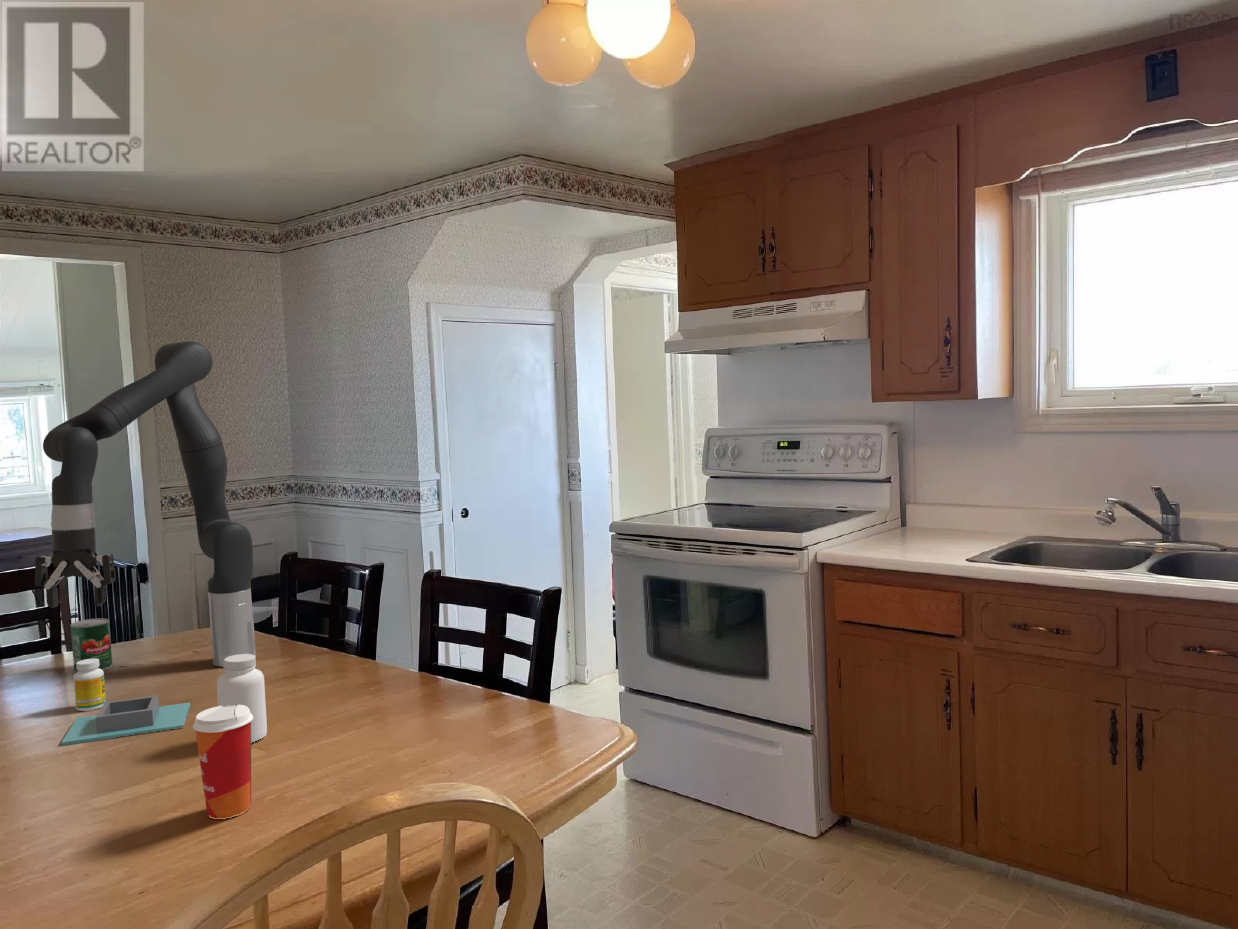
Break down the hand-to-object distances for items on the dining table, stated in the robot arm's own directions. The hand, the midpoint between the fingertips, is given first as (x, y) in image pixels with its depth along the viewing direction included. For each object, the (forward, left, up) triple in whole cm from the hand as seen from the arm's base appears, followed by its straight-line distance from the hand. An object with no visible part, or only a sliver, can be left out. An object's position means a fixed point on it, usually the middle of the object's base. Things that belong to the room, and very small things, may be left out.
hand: (76, 606), depth 184 cm
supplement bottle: (-1, +1, -21) cm, 21 cm away
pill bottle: (-31, +34, -21) cm, 51 cm away
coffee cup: (-30, +65, -21) cm, 75 cm away
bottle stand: (-10, +16, -21) cm, 28 cm away
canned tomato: (+4, -31, -21) cm, 38 cm away
